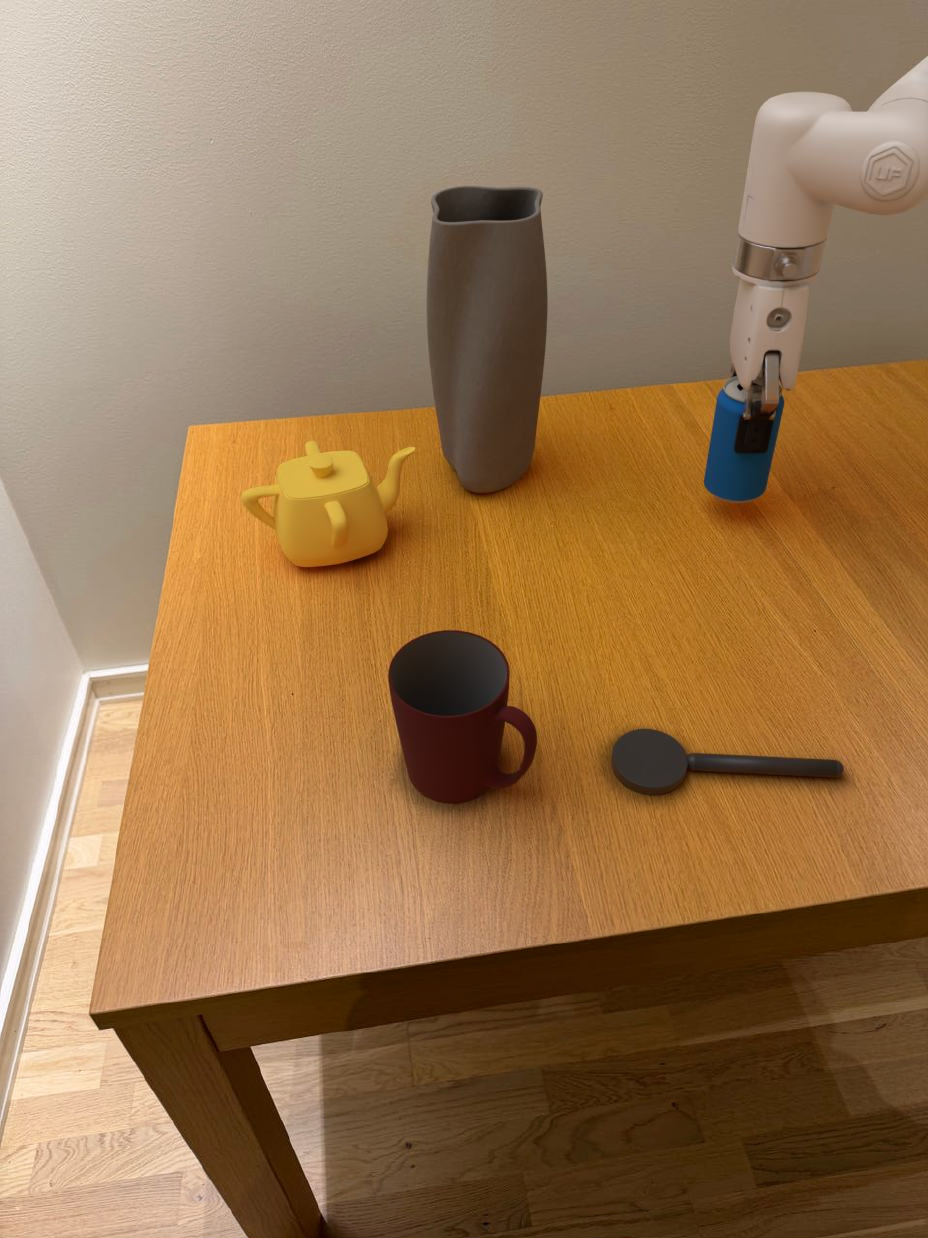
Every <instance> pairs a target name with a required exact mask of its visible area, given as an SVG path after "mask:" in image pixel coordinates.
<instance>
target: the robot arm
mask: <svg viewBox="0 0 928 1238" xmlns="http://www.w3.org/2000/svg"><path fill="white" fill-rule="evenodd" d="M750 143H751V144H750V151H749V157H748V158H749V159H748V164H747V170H746V177H745V185H744V190H743V195H742V202H741V207H740V208H741V209H740V215H739V216H740V217H739V221H738V227H737V234H736V239H735V247H734V254H733V259H732V265H731V266H732V267H731V272H732V274H733V275H734V276H735V277H736V278H738V279H739V283H738V284H739V285H738V288H737V294H736V299H735V304H734V310H733V315H732V321H731V327H730V328H731V329H730V337H729V353H730V357H731V360H732V364H731V368H730V378H732V377H735V376H738V379H739V382H740V384H741V385H740V391H741V390H743V388H744V389H745V401H744V413H743V415H739V421H738V426H737V432H736V437H735V443H734V451H735V453H766V452H767V450H768V446H769V441H770V436H771V432H772V427H773V422H774V418H775V413H776V409H777V406H778V404H779V384H780V386H781V387H782V390H785V391H787V392H790V391H792V390H793V389H794V388H795V387H796V385H797V378H798V373H799V367H800V362H801V357H802V350H803V345H804V338H805V332H806V326H807V320H808V312H809V302H810V301H809V300H810V288H811V287H810V283H812V282H815V280H817V278H819V275H820V270H821V265H822V261H823V257H824V253H825V249H826V243H827V240H828V235H829V230H830V226H831V221H832V217H833V212H834V208H835V205H837V206H840V207H843V208H845V209H849V210H854V211H858V212H861V213H864V214H865V213H866V214H869V215H874V216H875V215H876V216H894V215H900V214H903V213H906V212H910V211H911V210H913V209H915V208H916V207H918V206H919V205H921V204H922V203H924V202H925V201H926V200H927V199H928V55H927V56H925V58H923V59H922V60H921V61H920V62H919V63H917V64H915V66H913V67H912V68H911V69H910V70H909V71H908V72H906V73H905V74H904V75H903V76H901V78H899V79H898V80H896V82H894V83H893V84H892V85H891V86H890V87H889V88H887V89H886V90H885V91H884V92H883V93H882V94H881V95H880V96H879V97H878V98H876V100H875V101H874V102H873V103H872V104H871V106H870V107H868V110H867V111H853V109H852V107H851V104H850V103H849V102H848V101H847V100H846V99H845V98H843V97H840V96H838V95H835V94H831V93H826V92H818V91H795V92H785V93H781V94H777V95H775V96H773V97H772V96H771V97H770V98H768V99H767V100H765V101H764V103H763V104H762V105H761V106H760V108H759V109H758V110H757V113H756V117H755V121H754V126H753V131H752V137H751V142H750ZM756 379H762V385H752V384H753V380H756ZM753 392H762V396H761V398H760V400H757V401H756V402H755V403H754V404H753V405H752V403H753Z"/></svg>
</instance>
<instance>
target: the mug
mask: <svg viewBox="0 0 928 1238" xmlns="http://www.w3.org/2000/svg"><path fill="white" fill-rule="evenodd" d="M510 674H511V672H510V664H509V661H508V659H507V657H506V655H505V653H504V652H503V651H502V650H501V648H499V646H497V645H496V644H495V643H493V642H492V641H491V640H490V639H488V638H486V637H483V636H482V635H479V634H476V633H474V632H470V631H464V630H458V629H444V630H435V631H431V632H428V633H424V634H422V635H420V636H417V637H415V638H412V639H411V640H409V641H408V642H407V643H405V644H404V645H402V646H401V647H400V649H398V650H397V652H395V654H394V656H393V657H392V659H391V660H390V663H389V667H388V673H387V678H388V679H387V681H388V688H389V689H388V690H389V695H390V701H391V705H392V711H393V715H394V720H395V725H396V728H397V735H398V739H399V742H400V746H401V750H402V756H403V759H404V763H405V767H406V771H407V775H408V778H409V780H410V783H411V784H412V785H413V787H414V788H415V789H416V790H417V791H418V792H419V793H420V794H422V795H423V796H424V797H426V798H428V799H431V800H433V801H435V802H440V803H446V804H448V803H449V804H455V803H463V802H468V801H470V800H473V799H476V798H477V797H479V796H481V795H483V794H484V793H485V792H486V791H487V790H488V789H490V788H495V789H505V788H509V787H512V786H513V785H514V784H516V783H517V782H519V781H520V780H521V779H522V778H523V776H524V775H525V774H526V773H527V772H528V770H529V769H530V767H531V766H532V764H533V761H534V758H535V755H536V751H537V746H538V745H537V744H538V733H537V728H536V725H535V723H534V722H533V720H532V718H531V717H530V716H529V715H528V714H527V713H526V712H525V711H523V710H522V709H520V708H518V707H516V706H512V705H508V702H509V694H510V693H509V692H510V678H511V675H510ZM506 723H507V724H508V725H510V726H512V727H514V729H516V730H517V732H519V734H520V736H521V738H522V740H523V746H524V748H523V756H522V761H521V763H520V766H519V768H518V770H516V771H514V772H510V773H503V772H502V771H501V769H500V759H501V754H502V753H501V752H502V746H503V739H504V734H505V725H506Z"/></svg>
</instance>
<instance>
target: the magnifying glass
mask: <svg viewBox="0 0 928 1238" xmlns="http://www.w3.org/2000/svg"><path fill="white" fill-rule="evenodd" d="M611 751H612V752H611V758H610V765H611V769H612V772H613V774H614V776H615V777H616V778H617V780H618V781H619V782H620V783H621V784H622V785H623V786H624V787H626V788H628V789H629V790H631V791H633V792H636V793H638V794H641V795H647V796H648V795H649V796H659V795H661V796H662V795H664V794H668V793H671V792H673V791H674V790H676V789H677V788H678V787H680V786H681V784H682V783H683V782H684V780H685V778H686V775H687V771H688V770H689V771H695V772H716V773H717V772H718V773H735V774H738V773H739V774H755V775H774V776H775V775H776V776H792V777H793V776H794V777H795V776H796V777H816V778H834V779H835V778H840V777H841V776H842V775H843V774H844V772H845V771H844V770H845V766H844V765H843V763H842V762H841V761H840V760H837V759H828V758H810V757H809V758H807V757H789V756H788V757H787V756H785V757H784V756H766V755H749V754H748V755H745V754H725V753H705V752H703V753H702V752H689V753H688V754H687V752H686V749H684V747H683V746H682V744H681V743H680V742H679V741H678V739H676V738H674V737H673V736H671V735H670V734H668V733H666V732H663V731H661V730H658V729H653V728H637V729H633V730H630V731H628V732H625V733H624V734H622V735H621V736H620V737H618V739H617V740H616V741H615V743H614V745H613V747H612V750H611Z"/></svg>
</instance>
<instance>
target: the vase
mask: <svg viewBox="0 0 928 1238" xmlns="http://www.w3.org/2000/svg"><path fill="white" fill-rule="evenodd" d="M543 193H544V192H542V190H541V189H539V188H536V187H532V186H531V187H530V186H505V187H496V186H495V187H494V186H482V185H461V186H453V187H449V188H445V189H442V190H439V191H437V192H436V193H434V194H433V195H432V196H431V198H430V204H431V208H432V213H433V214H432V217H431V218H432V220H431V228H430V237H429V247H428V261H427V275H426V276H427V277H426V279H427V280H426V333H427V348H428V359H429V361H428V363H429V369H430V378H431V384H432V393H433V400H434V407H435V413H436V420H437V425H438V432H439V439H440V445H441V451H442V454H443V456H444V459H445V460H446V462H447V463H448V464H449V466H450V467H451V468H452V469H453V470H454V471H455V472H456V475H457V479H458V480H459V482H460V485H461V486H462V487H463V488H464V489H466V490H467V491H469V492H472V493H476V494H490V493H495V492H498V491H501V490H504V489H506V488H508V487H510V486H512V485H513V484H515V483H516V482H517V481H518V480H520V479H521V478H522V477H523V476H524V475H525V473H526V472H527V471H528V469H529V467H530V466H531V463H532V461H533V458H534V455H535V448H536V439H537V430H538V421H539V411H540V404H541V394H542V386H543V378H544V377H543V376H544V367H545V358H546V348H547V347H546V345H547V333H548V330H547V329H548V308H549V307H548V305H549V304H548V303H549V302H548V301H549V300H548V299H549V298H548V275H547V274H548V273H547V259H546V250H545V241H544V240H545V239H544V232H543V231H544V229H543V222H542V209H541V207H542V202H543V197H544V194H543Z"/></svg>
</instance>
